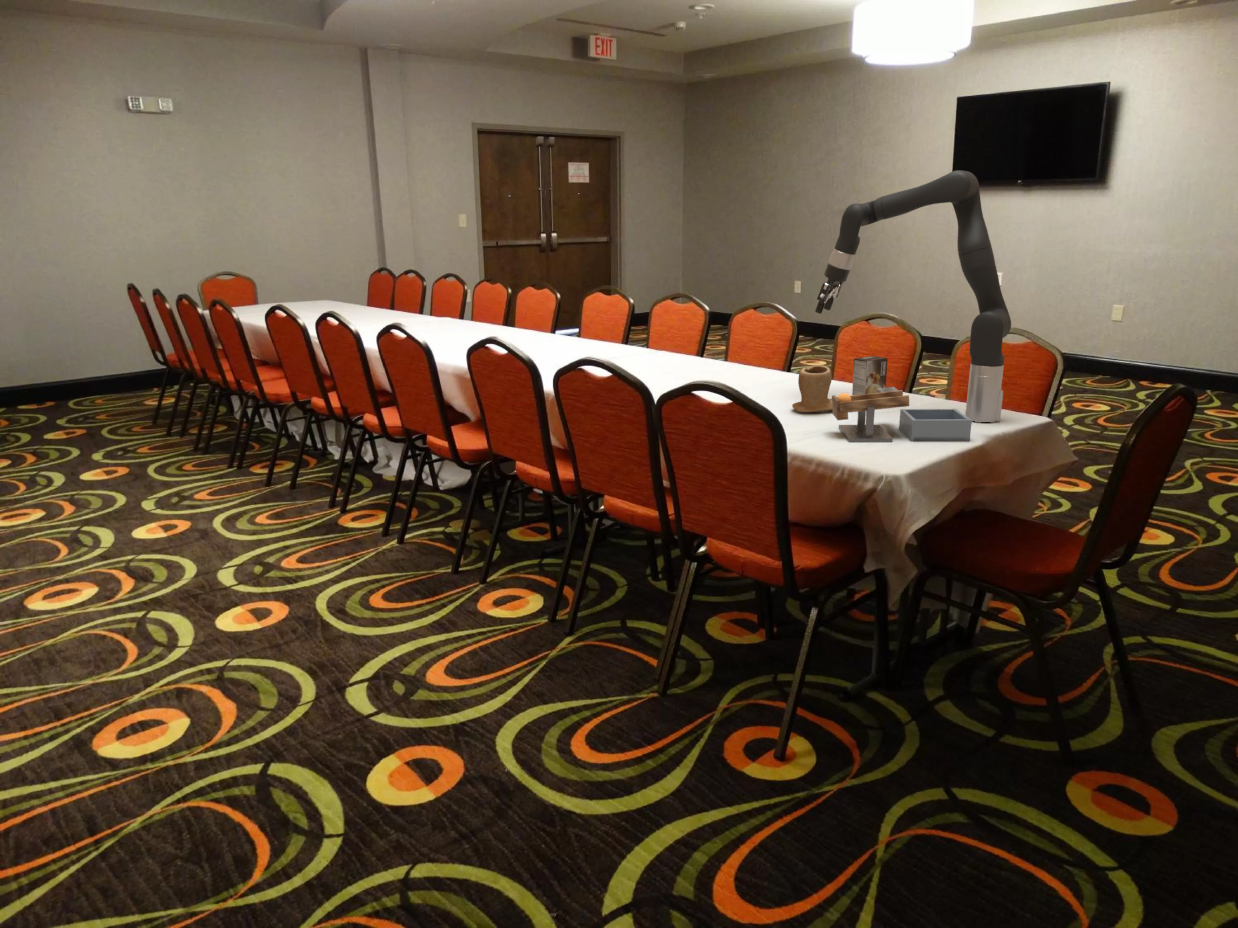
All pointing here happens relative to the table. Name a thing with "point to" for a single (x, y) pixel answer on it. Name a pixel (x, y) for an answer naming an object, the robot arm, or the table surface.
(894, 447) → the table surface
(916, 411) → the bin
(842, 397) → the ball
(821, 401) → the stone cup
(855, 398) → the chute
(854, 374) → the coffee box
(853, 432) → the stand
